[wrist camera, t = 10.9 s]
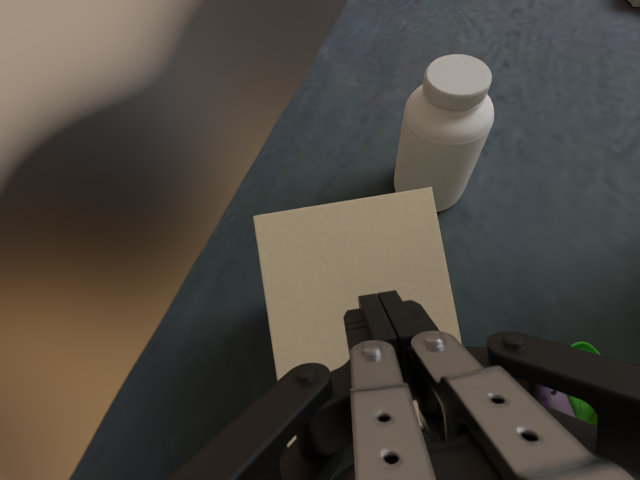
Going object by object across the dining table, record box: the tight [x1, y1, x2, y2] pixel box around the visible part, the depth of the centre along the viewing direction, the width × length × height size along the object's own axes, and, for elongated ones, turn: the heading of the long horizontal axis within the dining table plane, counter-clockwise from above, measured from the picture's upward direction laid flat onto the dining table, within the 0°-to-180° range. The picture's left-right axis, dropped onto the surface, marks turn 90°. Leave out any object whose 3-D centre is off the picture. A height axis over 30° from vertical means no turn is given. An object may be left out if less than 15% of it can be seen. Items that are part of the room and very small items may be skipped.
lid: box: [253, 187, 462, 447], centre depth 23 cm, size 14×12×1 cm
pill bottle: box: [394, 54, 494, 212], centre depth 36 cm, size 8×8×15 cm
